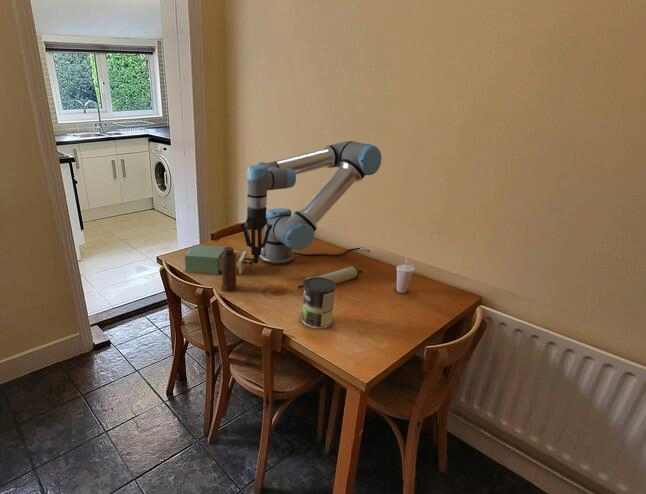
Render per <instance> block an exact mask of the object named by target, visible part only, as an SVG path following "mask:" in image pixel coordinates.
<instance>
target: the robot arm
mask: <svg viewBox="0 0 646 494" xmlns="http://www.w3.org/2000/svg"><path fill="white" fill-rule="evenodd" d="M381 165H382V153H381V150H380V149H379V147H377V146H376V145H373V144H371V143H363V142H358V141H354V140H347V141H341V142H337V143H334V144H329V145H325V146H324V147H323V148H322V149H320V150H315V151H311V152H307V153H302V154H298V155H294V156H290V157H287V158H282V159H277V160H274V161H270V162H264V161H259V162H257V163H255V164H253V165H250V166H249V167H247V173H246V181H247V182H246V183H247V185H246V186H247V188H246V191H247V195H246V206H247V208H246V219H245V221H242V222H241V223H240V227H241V229H242V231H243V235H244V239H245V243H246V247H249V248H250V249H251V253H250V254H251V256H253V258H254V262H253V264H256V265H258V264H259V260H261V262H264V263H265V264H269V265H285V264H289V263H291V262H292V261H293V260H294V255H295V256H296V255H297V256H302V257H316V256H317V257H319V256H322V257H323V256H324V257H341V256H344V255H346V254H347V253H349V252H352V251H357V250H361V249H360V248H361V247H355V248H350V249H347V250H346V251H344V252H343V253H338V254H331V253H330V254H329V253H299V252H293V250H294V251H302V250H305V249H307V248H308V247H309V246H311V244H312V243H313V241H314V237H315V232H316V231H317V230H318V227H317V225H318V224H319V222H320V221H321V220H322V219H323V218H324V217H325V215H326V214H327V213H328V212H329V211H330V210H331V209H332V208H333V207H334V206H335V204H336V203H338V201H339V200H340V199H341V198H342V197H343V196H344V195H345V193H346V192H347V191H348V190H349V189H350V188H351V187H352V185H354V184H355V183H356V182H362V180H363V179H364V178H365V177H366V176H372V175H375V174H376V173H377V172H378V170H379V169H380V168H381ZM324 168H327V169H333V168H338V169H336V171H335V172H334V174H333V175H332V176H330V178H329V179H328V180H327V182H325V184H323V185H322V187H321V188H320V189H319V190H318V191H317V192H316V193H315V195H314V196H313V197H312V198H311V199H310V200H309V201H308V202H307V203H306V204H305V205H304V206H303V208H302V209H300V210H299V209H298V210H295V211H294V212H293V213H292V210H291V209H289V208H282V207H279V208H277V207H276V208H270V209H267V205H268V201H267V200H268V191H277V190H287V189H291V188H293V187H295V185H296V183H297V175H300V174H303V173H308V172H312V171H316V170H320V169H324ZM248 227H249V228H250V233H249V229H248ZM263 229H264V230H263ZM256 231H257V245H256ZM263 231H264V234H263ZM250 234H251V236H250ZM262 235H263V236H264V237H263V236H262ZM250 237H251V238H250ZM262 239H263V241H262ZM364 250H366V249H364ZM369 250H370V249H369ZM369 250H366V251H367V252H371V250H370V251H369Z"/></svg>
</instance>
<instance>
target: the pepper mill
mask: <svg viewBox="0 0 646 494" xmlns="http://www.w3.org/2000/svg"><path fill="white" fill-rule="evenodd" d="M224 247H225V248H224V252H222V271H221V277H222V281H221V282H222V290H223V291H224V292H227V293H228V292H234V291H236V290H237V271H236V253H235V252H234V251H235V250H234V248H233V247H232V246H224Z"/></svg>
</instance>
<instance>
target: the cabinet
mask: <svg viewBox="0 0 646 494" xmlns="http://www.w3.org/2000/svg"><path fill="white" fill-rule="evenodd" d="M225 247H226V246H218V245H217V246H215V245H205V244H203V245H201V244H193V245H192V247H190V248H189V250H188V251H187V252H186V253H185V254H184V265H185V266H184V267H185V273H187V272H188V273H197V274H209V275H210V274H211V275H219V274H220V273H221V271H219V264H218V259H219V257H220V256H221V254H222V252H223V251H224V248H225Z"/></svg>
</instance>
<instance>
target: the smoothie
mask: <svg viewBox="0 0 646 494" xmlns="http://www.w3.org/2000/svg"><path fill="white" fill-rule="evenodd" d="M408 261H409V256H406V257H405V264H397V266H396V268H395V270H396V291H397V292H398V293H401V294H402V293H403V294H405V293H407V292H408V288H409V285H410V283H411V280H412V276H413V274H414V273H415V267H414V266H413V265H409V264H408Z"/></svg>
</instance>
